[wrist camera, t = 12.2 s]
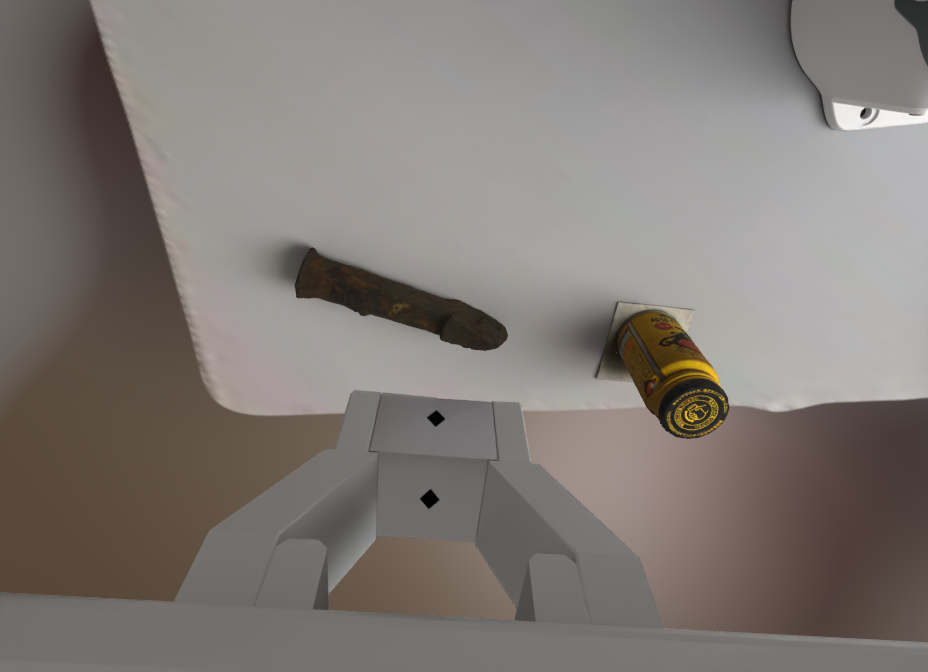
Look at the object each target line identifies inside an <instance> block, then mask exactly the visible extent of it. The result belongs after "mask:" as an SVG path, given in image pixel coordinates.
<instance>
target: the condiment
mask: <svg viewBox="0 0 928 672" xmlns="http://www.w3.org/2000/svg"><path fill="white" fill-rule="evenodd" d="M694 312H695V310H687V309H678V308H671V307H663V306H653V305H643V304H630V303H621V302H619V303H618V306H617V309H616V313H615V316H614V319H613V323H612V326H611V329H610V333H609V336H608V341H607V344H606V349H605V352H604V355H603V358H602V362H601V365H600V370H599V373H598V377H597V380H614V381H627V382H634V384H635V385H636V387H637V389H638V391H639V393H640V395H641V397H642V399H643V401H644V403H645V405H646V407H647V408H648V409H649V411H650V412H651V413H652V414H654V415H656V417H657V418H658V419H659V420H660V424H662V427H663V428H664V429H665V430H666V431H667V432H670V434H672V435H674V436H676V437H680V438H687V439H690V438H699V437H701V436H704V435H706V434H709V433H711V432H712V431H714V430H715V429H716V428H718V427H719V426H720V425H721V424H722V423H723V421H724V420H725V418H726V416H727V414H728V411H729V404H728V397H727V395H726V393H724V390H723V389H722V388H721V386H720V384H719V379H718V376H717V374H716V372H715V371H714V369H713V367H712V365H711V364H710V363H709V362H708V361H707V360H706V358H705V357H704V356H703V355H702V353H701V352H700V350H699V349H698V348H697V346H696V345H695V344H694V343H693V341H692V340H691V338H690V337H689V336H688V334H687V330H688V327H689V325H690V323H691V319H692V317H693V314H694ZM616 352H617V353H616Z"/></svg>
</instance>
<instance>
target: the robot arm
mask: <svg viewBox="0 0 928 672" xmlns="http://www.w3.org/2000/svg"><path fill="white" fill-rule="evenodd" d="M791 35H792V41H793V46H794V50H795V53H796V56H797V59H798V61H799V63H800V65H801V67H802V69H803V70H804V72H805V73H806V75H807V76H808V77H809V78H810V80H811V81H812V82H813V83H814V84H815V86H816V87H817V88H818V90H819V91H820V93H821V95H822V101H823V106H824V112H825V116H826V119H827V122H828V124H829V126H830V127H831V128H832V129H834V130H839V131H854V130H864V129H874V128H884V127H894V126H905V125H915V124H925V123H928V0H793V1H792V8H791ZM864 108H866V112H865V114H864V115H863V116H862V117H860V113H861V111H862V110H863V109H864ZM376 536H377V537H406V538H429V539H440V540H451V541H462V542H474V543H476V544H475V545H476V547H477V548H478V550H479V551H480V553H481V554H482V556H483V558H484V559H485V561H486V562H487V564H488V566H489V567H490V569H491V570H492V572H493V573H494V575H495V576H496V578H497V579H498V581H499V583H500V584H501V586H502V587H503V589H504V590H505V592H506V593H507V595H508V596H509V598H510V600H511V601H512V603H513V604H514V606H515V607H516V609H517V611H516V615H515V619H514V620H501V619H482V618H464V617H463V618H462V617H444V616H426V615H408V614H389V613H370V612H352V611H332V610H329V595H328V594H329V593H330V592H331V591H332V590H333V588H334V587H335V586H336V585H337V584H338V582H339V581H340V580H341V579H342V578H343V577H344V576H345V574H346V573H347V572H348V571H349V570H350V569H351V567H352V566H353V565H354V564H355V562H356V561H357V560H358V559H359V558H360V557H361V555H363V553H364V552H365V551H366V550H367V549H368V547H369V546H370V545H371V544H372V543H373V542H374V541H375V538H376ZM0 672H928V643H925V642H905V641H888V640H869V639H850V638H833V637H814V636H795V635H776V634H758V633H738V632H720V631H700V630H682V629H681V630H680V629H664V626H663V623H662V620H661V617H660V615H659V612H658V609H657V606H656V603H655V600H654V597H653V594H652V592H651V589H650V586H649V583H648V580H647V577H646V574H645V571H644V568H643V565H642V562H641V560H640V557H638V556H637V555H636V554H635V553H634V552H633V551H632V550H631V549H630V548H629V547H628V546H627V545H625V543H623V542H622V541H621V540H620V539H619V538H618V537H617V536H616V535H615V534H614V533H613V532H612V531H611V530H610V529H608V528H607V527H606V526H605V525H604V524H603V523H602V522H601V521H600V520H599V519H598V518H597V517H596V516H594V514H593V513H591V512H590V511H589V510H588V509H587V508H586V507H585V506H584V505H583V504H582V503H581V502H580V501H579V500H577V498H575V497H574V496H573V495H572V494H571V493H570V492H569V491H568V490H567V489H566V488H565V487H564V486H563V485H561V484H560V483H559V482H558V481H557V480H556V479H555V478H554V477H553V476H552V475H551V474H550V473H549V472H548V471H546V469H544V468H543V467H542V466H541V465H540V464H532V463H531V457H530V452H529V446H528V440H527V434H526V429H525V423H524V418H523V412H522V406H521V405H520V403H518V402H496V401H492V402H484V401H469V400H454V399H438V398H434V397H424V396H414V395H403V394H393V393H380V392H371V391H358V390H354V391H353V392H352V393H351V394H350V398H349V401H348V405H347V408H346V411H345V415H344V418H343V421H342V425H341V428H340V432H339V435H338V439H337V442H336V445H335V448H334V449H325V450H323V451H322V452H321V453H319V454H318V455H316V456H315V457H314V458H312V459H311V460H309V461H308V462H306V463H305V464H304V465H302V466H301V467H299V468H298V469H296V470H295V471H294V472H292V473H291V474H289V475H288V476H286V477H285V478H284V479H282V480H281V481H279V482H278V483H276V484H275V485H274V486H272V487H271V488H269V489H268V490H267V491H265V492H264V493H262V494H261V495H259V496H258V497H257V498H255V499H254V500H252V501H251V502H250V503H248V504H247V505H245V506H244V507H243V508H241V509H240V510H238V511H237V512H235V513H234V514H232V515H231V516H230V517H228V518H227V519H225V520H224V521H223V522H221V523H220V524H218V525H217V526H215V527H214V528H213V529H211V530H210V531H209V533H208V535H207V537H206V539H205V541H204V543H203V545H202V547H201V549H200V551H199V553H198V555H197V557H196V559H195V561H194V563H193V565H192V567H191V569H190V571H189V573H188V575H187V577H186V579H185V581H184V583H183V585H182V587H181V588H180V590H179V593H178V594H177V596H176V599H175V600H174V602H166V601H146V600H129V599H109V598H92V597H72V596H54V595H35V594H17V593H0Z"/></svg>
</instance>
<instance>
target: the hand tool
mask: <svg viewBox="0 0 928 672" xmlns="http://www.w3.org/2000/svg"><path fill="white" fill-rule="evenodd" d="M295 288H296V289H295V290H296V297H297V298H320V299H323V300H326V301H329V302H332V303H336V304H340V305H343V306H346V307H348V308H349V309H352V310H353V311H355V312H359V314H360V315H361V316H366V315H369V314H372V315H375V316H378V317H382V318H385V319H389V320H392V321H395V322H398V323H402V324H405V325H408V326H411V327H415V328H419V329H423V330H426V331H429V332H432V333H434V334H437V335H440V339H441V340H442V341H445V342H448V343H451V344H457V345H461V346H462V347H463V348H471V349H473V350H484V351H486V350H491V349H496V348H498V347H499V346H500V345H501V344H503V343H504V342H505V341H506V340H507V336H508V334H507V331H506V328H505V327H504V326H503V325H502V324H501V323H499V322H498V321H497V320H495V319H493V318H492V317H490V316H489V315H487V314H485V313H484V312H482V311H480V310H477V309H475V308H473V307H471V306H469V305H467V304H466V303H464V302H462V301H459V300H455V299H454V300H452V301H448V300H445V299H442V298H439V297H436V296H433V295H431V294H428V293H425V292H423V291H420V290H416V289H414V288H412V287H410V286H408V285H405V284H400V283H396V282H393V281H391V280H388V279H385V278H382V277H380V276H377V275H375V274H372V273H369V272H367V271H364V270H362V269H356V268H353V267H350V266H346V265H343V264H340V263H337V262H333V261H331V260H328V259H326V258H323V257H322V256H320V255H319V254H318V253H317V251H316V249H315V248H311V249H310V251H309V252H308V253H307V255H306V257H305V258H304V260H303V262H302V265H301V267H300V270H299V273H298V276H297V280H296V282H295Z"/></svg>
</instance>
